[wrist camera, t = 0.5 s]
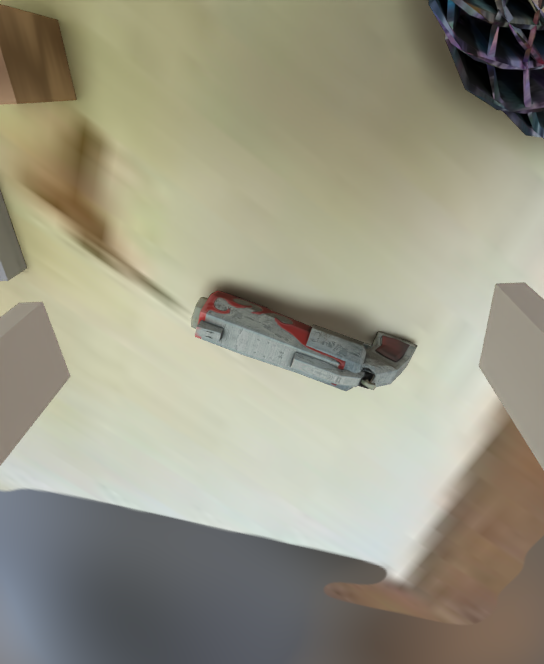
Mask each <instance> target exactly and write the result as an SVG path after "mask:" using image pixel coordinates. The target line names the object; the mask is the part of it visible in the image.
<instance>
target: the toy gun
mask: <svg viewBox="0 0 544 664" xmlns="http://www.w3.org/2000/svg"><path fill="white" fill-rule="evenodd" d="M191 327H193V328H195V329H196V332H195V337H197V338H200V339H203V340H205V341H208V342H211V343H213V344H216V345H218V346H221V347H224V348H226V349H229V350H232V351H234V352H237V353H240V354H242V355H245V356H248V357H251V358H254V359H257V360H260V361H263V362H266V363H269V364H272V365H275V366H278V367H281V368H284V369H287V370H290V371H293V372H296V373H299V374H301V375H304V376H307V377H309V378H312V379H315V380H317V381H320V382H323V383H325V384H328V385H331V386H333V387H336V388H339V389H341V390H344V391H347V390H349V389H351V388H353V387H357V386H361V387H364V388H367V389H371V390H374V389H375V388H376V387H379V386H383V385H388V384H391V383H392V382H393V381H394V380H395V379H396V378H397V377H398V376H399V375H400V374H401V373H402V371H403V370H404V369H405V368H406V366H407V365H408V363H409V361H410V359H411V357H412V355H413V353H414V351H415V349H416V348H417V345H415V344H413V343H411V342H409V341H406V340H403V339H400V338H397V337H394V336H391V335H387V334H384V333H381V332H378V334H377V336H376V338H375V340H374V342H373V344H372V346H371V345H370V344H368V343H364V342H361V341H358V340H355V339H352V338H350V337H347V336H344V335H341V334H339V333H336V332H333V331H330V330H328V329H325V328H322V327H319V326H317V325H314V324H313V326H312V327H311V326H309V325H306V324H304V323H301V322H299V321H296V320H294V319H291V318H289V317H286V316H284V315H281V314H279V313H277V312H274V311H272V310H270V309H268V308H267V307H264V306H261V305H259V304H256V303H253V302H250V301H248V300H245V299H242V298H240V297H237V296H234V295H231V294H228V293H225V292H222V291H218V290H217V291H216V292H214V293H212V294H211V295H210V296H209V298H208V299H207V298H205V297H201V298H200V299H199V301H198V303H197V305H196V306H195V309H194V312H193V316H192V319H191Z"/></svg>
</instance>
